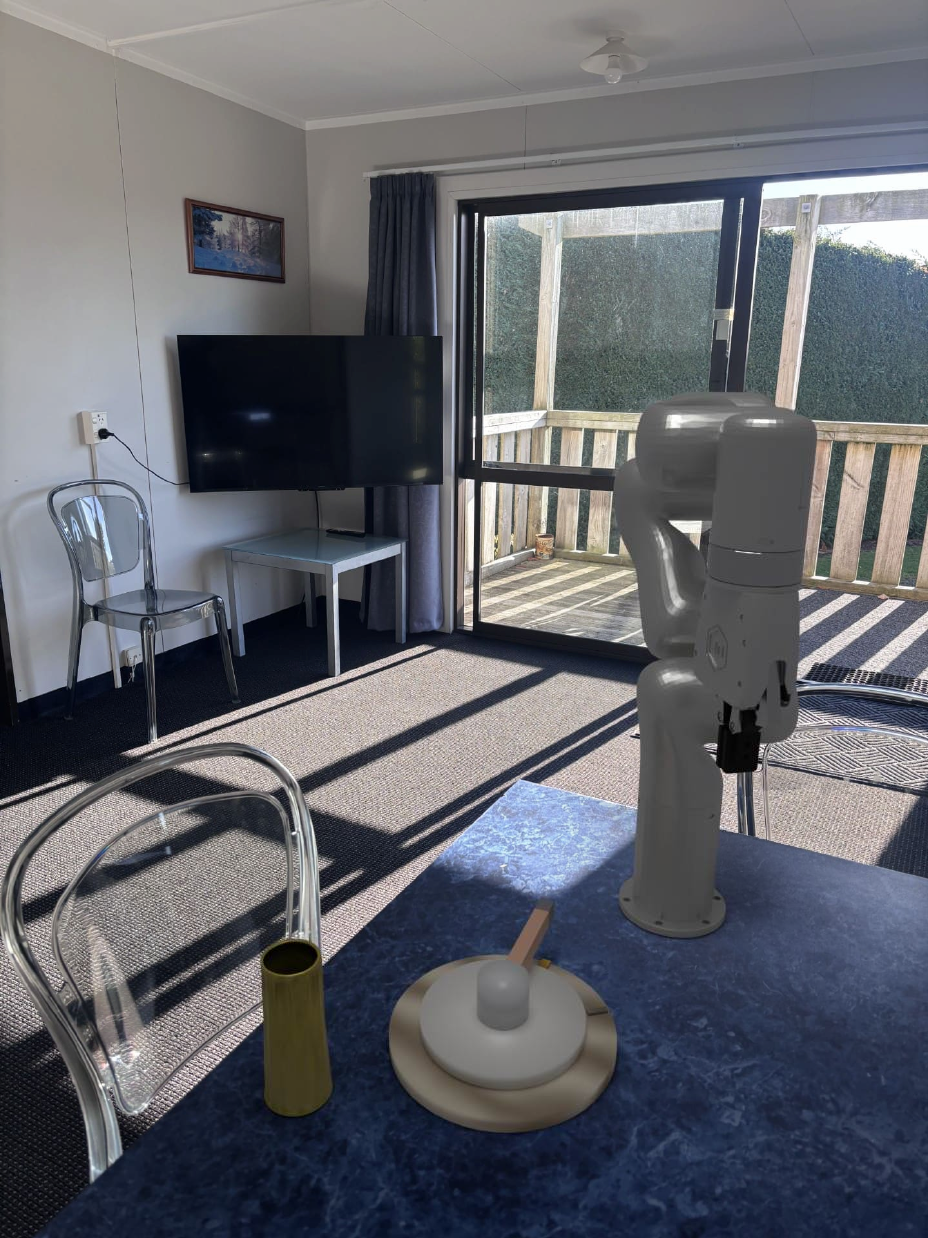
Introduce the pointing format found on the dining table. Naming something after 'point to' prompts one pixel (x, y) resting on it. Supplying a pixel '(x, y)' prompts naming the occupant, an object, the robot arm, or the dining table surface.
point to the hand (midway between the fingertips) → (736, 768)
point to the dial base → (502, 1105)
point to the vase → (294, 1028)
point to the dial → (505, 1017)
